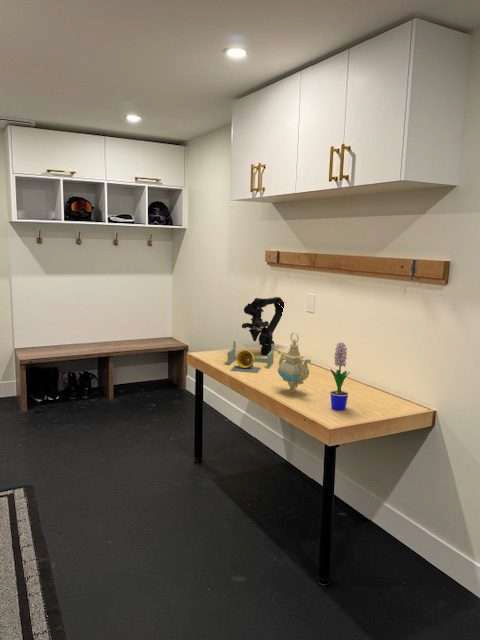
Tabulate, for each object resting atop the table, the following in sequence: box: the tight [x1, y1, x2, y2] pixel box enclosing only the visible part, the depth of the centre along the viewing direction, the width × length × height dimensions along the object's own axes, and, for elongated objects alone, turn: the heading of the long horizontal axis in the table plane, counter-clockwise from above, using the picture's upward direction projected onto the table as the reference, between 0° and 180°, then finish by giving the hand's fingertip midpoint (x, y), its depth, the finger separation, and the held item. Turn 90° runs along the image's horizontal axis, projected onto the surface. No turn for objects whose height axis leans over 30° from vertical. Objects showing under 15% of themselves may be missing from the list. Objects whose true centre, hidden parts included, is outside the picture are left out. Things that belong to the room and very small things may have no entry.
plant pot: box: [235, 349, 255, 368], centre depth 294 cm, size 10×10×10 cm
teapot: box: [277, 332, 312, 393], centre depth 244 cm, size 24×12×30 cm, turn 32°
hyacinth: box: [329, 342, 351, 411], centre depth 220 cm, size 9×10×30 cm
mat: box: [230, 365, 262, 374], centre depth 289 cm, size 12×16×1 cm
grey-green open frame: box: [227, 340, 275, 369], centre depth 302 cm, size 15×25×12 cm, turn 77°
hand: (254, 341), depth 314 cm, fingers closed
